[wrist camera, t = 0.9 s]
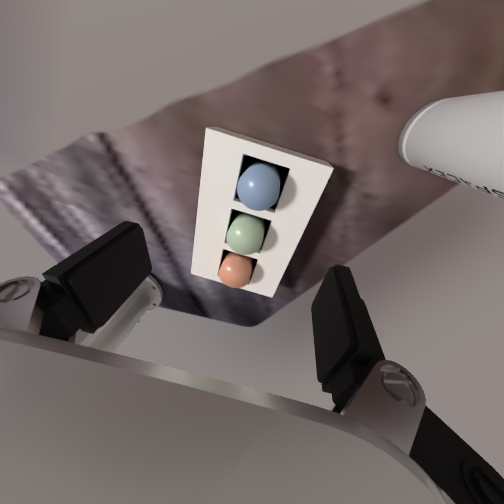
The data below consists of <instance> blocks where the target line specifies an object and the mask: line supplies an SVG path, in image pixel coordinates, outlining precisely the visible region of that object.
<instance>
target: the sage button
mask: <svg viewBox="0 0 504 504" xmlns="http://www.w3.org/2000/svg"><path fill="white" fill-rule="evenodd" d="M264 231H265V222H264V220H263V218H261V217H258V216H255V215H251V214H248V213H245V212H241V213H239V214H238V215H237V216H236V217H235V219H234V221H233V223H232V225H231V226H230V228H229V230H228V232H227V243H228V245H229V246H230V248H231V249H232V250H233V251H235V252H237V253H239V254H242V255H250V254H253V253H255V252H257V251H258V250H259V249H260V247H261V245H262V241H263V236H264Z"/></svg>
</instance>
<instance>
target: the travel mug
mask: <svg viewBox="0 0 504 504" xmlns="http://www.w3.org/2000/svg"><path fill="white" fill-rule="evenodd" d="M398 152H399V155H400V157H401V159H402V160H403V161H404V162H405V163H406V164H408V165H410V166H413V167H416V168H419V169H421V170H424V171H427V172H430V173H432V174H435V175H438V176H441V177H443V178H446V179H449V180H451V181H454V182H457V183H460V184H462V185H465V186H468V187H471V188H473V189H476V190H479V191H482V192H484V193H487V194H490V195H492V196H495V197H498V198H501V199H503V200H504V91H498V92H490V93H483V94H475V95H468V96H460V97H454V98H446V99H441V100H436V101H434V102H432V103H429V104H428V105H426V106H424V107H423V108H421V109H420V110H419V111H417V112H416V113H415V114H414V115H413V116H412V117H411V118H410V119H409V121H408V122H407V123H406V125H405V126H404V128H403V130H402V132H401V135H400V137H399V142H398Z"/></svg>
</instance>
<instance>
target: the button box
mask: <svg viewBox="0 0 504 504" xmlns="http://www.w3.org/2000/svg"><path fill="white" fill-rule="evenodd" d="M244 154H246V155H249V156H252V157H255V158H258V159H261V160H265V161H268V162H271V163H274V164H277V165H280V166H284V167H287V168H290V170H289V172H288V175H287V178H286V181H285V184H284V187H283V189H282V192H281V195H280V198H279V201H278V204H277V206H276V209H275V210H273V209H270V208H268V209H266V210H263V211H255V210H251V209H249V208H247V207H246V206H245V205H244V204H243V203H242V202H241V201H240V199H237V198H235V195H236V190H237V185H238V181H239V176H240V172H241V167H242V162H243V158H244ZM333 169H334V168H333V167H332V166H331V165H330V164H329V163H328V162H327V161H324V160H320V159H317V158H314V157H311V156H308V155H305V154H302V153H298V152H295V151H292V150H289V149H286V148H283V147H280V146H276V145H273V144H270V143H267V142H264V141H261V140H258V139H254V138H251V137H248V136H245V135H242V134H239V133H235V132H232V131H229V130H226V129H223V128H220V127H209V128H206V133H205V143H204V153H203V162H202V172H201V182H200V191H199V201H198V210H197V220H196V230H195V239H194V249H193V259H192V268H191V274H194V275H197V276H201V277H204V278H207V279H211V280H214V281H218V282H221V283H223V282H222V281H221V280H220V278H219V270H220V268H221V265H222V262H221V260H222V255H223V251H224V249H225V250H228V251H231V252H235V251H233V250H232V249H231V248H230V246H229V245H228V243H227V240H226V237H227V232H228V227H229V223H230V218H231V213H232V209H235V210H238V211H241V212H245V213H248V214H251V215H255V216H258V217H261V218H264V219H268V220H271V223H270V226H269V229H268V232H267V235H266V238H265V240H264V243H263V246H262V249H261V250H260V249H259V250H258V251H257V252H255V253H253V254H250V255H245V256H248V257H251V258H255V259H258V260H257V263H256V266H255V269H254V272H252V271H251V275H250V279H249V282H248V284H247V285H245V286H244V287H241V289H245V290H248V291H252V292H255V293H258V294H262V295H265V296H268V297H273V295H274V293H275V291H276V288H277V286H278V284H279V282H280V280H281V278H282V276H283V274H284V272H285V270H286V267H287V265H288V263H289V261H290V259H291V257H292V255H293V253H294V251H295V249H296V247H297V244H298V242H299V240H300V238H301V236H302V234H303V232H304V230H305V228H306V226H307V224H308V221H309V219H310V217H311V215H312V213H313V211H314V209H315V207H316V205H317V203H318V201H319V198H320V196H321V194H322V192H323V190H324V188H325V186H326V184H327V182H328V180H329V178H330V175H331V173H332V171H333ZM235 253H237V252H235ZM238 254H239V253H238ZM241 255H242V254H241Z"/></svg>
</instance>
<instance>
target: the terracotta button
mask: <svg viewBox="0 0 504 504" xmlns="http://www.w3.org/2000/svg"><path fill="white" fill-rule="evenodd" d="M252 266H253V258H251V257H248V256H245V255H241V254H238V253H235V252H231V251H229V252H228V253H227V254H226V256H225V259H224V261H223V263H222V265H221V268H220V270H219V278H220V280H221V281H222V282H223V283H224V284H225V285H227V286H229V287H232V288H241V287H244V286H245V285H247V284H248V282H249V279H250V275H251V271H252Z"/></svg>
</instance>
